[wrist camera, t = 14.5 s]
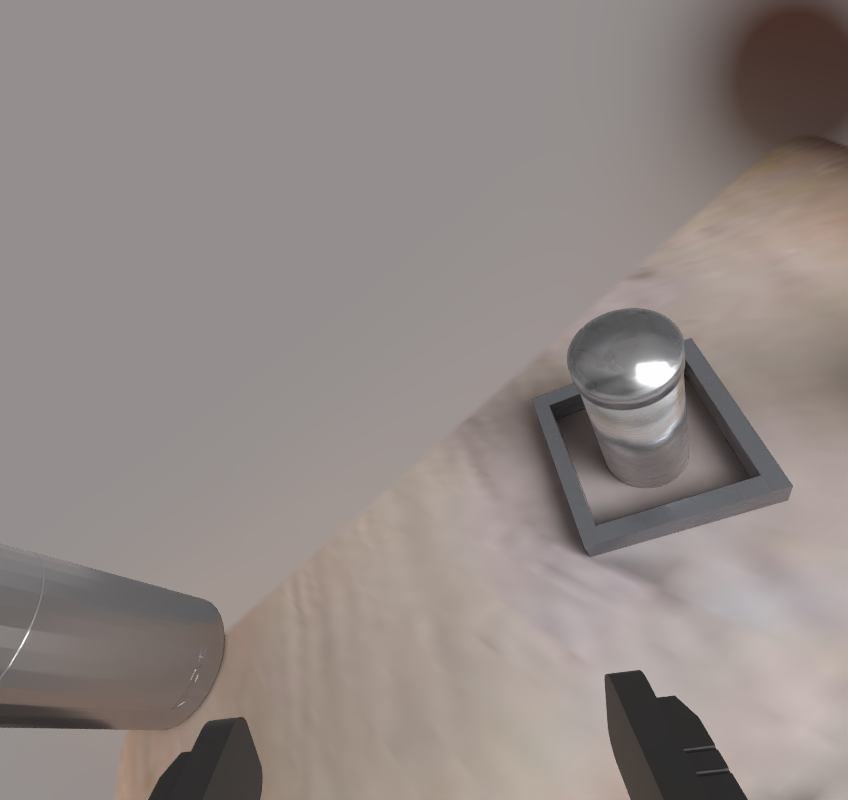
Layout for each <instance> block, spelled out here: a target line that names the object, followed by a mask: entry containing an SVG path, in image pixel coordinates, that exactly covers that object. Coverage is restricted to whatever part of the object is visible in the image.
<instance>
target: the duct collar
mask: <svg viewBox="0 0 848 800" xmlns="http://www.w3.org/2000/svg"><path fill="white" fill-rule="evenodd" d="M684 348H685V369H684V374H685V375H686V377H687V378H688V380H689V382H690V383H691V385H692V386H693V388H694V389H695V391H696V393H697V394H698V396H699V397H700V399H701V400H702V402H703V404H704V405H705V407H706V408H707V410H708V411H709V413H710V415H711V416H712V418H713V419H714V421H715V423H716V424H717V426H718V427H719V429H720V430H721V432H722V434H723V435H724V437H725V438H726V440H727V441H728V443H729V445H730V446H731V448H732V449H733V451H734V452H735V454H736V456H737V457H738V459H739V460H740V462H741V463H742V465H743V467H744V468H745V470H746V471H747V473H748V475H749V476H750V478H751V479H748V480H744V481H741V482H738V483H735V484H731V485H728V486H725V487H721V488H718V489H715V490H712V491H708V492H705V493H702V494H698V495H695V496H692V497H689V498H685V499H682V500H679V501H675V502H672V503H669V504H666V505H662V506H659V507H656V508H652V509H649V510H646V511H643V512H639V513H636V514H633V515H629V516H626V517H623V518H620V519H616V520H613V521H610V522H606V523H603V524H600V525H597V526H596V523H595V520H594V518H593V515H592V512H591V510H590V507H589V505H588V502H587V499H586V497H585V494H584V492H583V489H582V486H581V484H580V481H579V479H578V476H577V473H576V471H575V468H574V465H573V463H572V460H571V458H570V455H569V452H568V450H567V447H566V445H565V442H564V439H563V437H562V434H561V432H560V429H559V426H558V424H557V421H556V419H558V418H561V417H563V416H566V415H569V414H571V413H574V412H577V411H580V410H582V409H585V405H584V402H583V400H582V397H581V394H580V392H579V391H578V390H577V388H576V386H575V384H574V383H573V384H571V385H568V386H565V387H563V388H560V389H558V390H555V391H552V392H550V393H547V394H545V395H542V396H539V397H537V398H534V399H532V402H533V405H534V407H535V410H536V413H537V416H538V419H539V421H540V424H541V427H542V430H543V433H544V435H545V438H546V441H547V444H548V447H549V450H550V452H551V455H552V458H553V461H554V464H555V466H556V469H557V472H558V475H559V478H560V480H561V483H562V486H563V489H564V492H565V495H566V497H567V500H568V503H569V506H570V509H571V511H572V514H573V517H574V520H575V523H576V525H577V528H578V531H579V534H580V537H581V540H582V542H583V545H584V548H585V549H586V551H587V552H588V554H589V556H590V557H592V556H595V555H599V554H602V553H606V552H609V551H613V550H616V549H620V548H623V547H627V546H630V545H634V544H637V543H641V542H644V541H647V540H651V539H654V538H658V537H661V536H665V535H668V534H672V533H675V532H679V531H682V530H686V529H689V528H693V527H696V526H700V525H703V524H706V523H710V522H713V521H717V520H720V519H724V518H727V517H731V516H734V515H738V514H741V513H745V512H748V511H752V510H755V509H759V508H762V507H766V506H769V505H772V504H776V503H779V502H783V501H786V500H788V499H789V496H790V493H791V490H792V487H793V485H792V484H791V482H790V481H789V479H788V478H787V477H786V475H785V474H784V472H783V471H782V469H781V468H780V466H779V465H778V464H777V462H776V461H775V459H774V458H773V456H772V455H771V453H770V452H769V450H768V449H767V448H766V446H765V445H764V443H763V442H762V440H761V439H760V437H759V436H758V434H757V433H756V432H755V430H754V429H753V427H752V426H751V424H750V423H749V421H748V420H747V418H746V417H745V416H744V414H743V413H742V411H741V410H740V408H739V407H738V405H737V404H736V402H735V401H734V400H733V398H732V397H731V395H730V394H729V392H728V391H727V389H726V388H725V386H724V385H723V384H722V382H721V381H720V379H719V378H718V376H717V375H716V373H715V372H714V371H713V369H712V368H711V366H710V365H709V363H708V362H707V360H706V359H705V357H704V356H703V355H702V353H701V352H700V350H699V349H698V347H697V346H696V344H695V343H694V341H693V340H692V339H691V338H689V339H687V340H684Z"/></svg>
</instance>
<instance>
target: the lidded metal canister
mask: <svg viewBox="0 0 848 800" xmlns="http://www.w3.org/2000/svg"><path fill="white" fill-rule="evenodd" d="M567 363H568V368H569V371H570V374H571V376H572V379H573V381H574V384H575V386H576V388H577V390H578V391H579V392H580V394H581V397H582V400H583V402H584V405H585V408H586V411H587V413H588V416H589V419H590V421H591V424H592V427H593V429H594V432H595V435H596V437H597V440H598V443H599V445H600V448H601V451H602V454H603V456H604V459H605V462H606V464H607V466H608V468H609V470H610V471H611V472H612V474H613V475H614V476H615V477H617V478H618V479H619V480H621V481H622V482H624V483H626V484H628V485H631V486H635V487H640V488H653V487H659V486H662V485H665V484H668V483H669V482H671V481H673V480H674V479H676V478H677V477H678V476H679V475H680V474H681V473H682V472H683V470H684V469H685V467H686V465H687V462H688V458H689V444H688V429H687V414H686V400H685V385H684V369H685V348H684V339H683V336H682V334H681V332H680V330H679V328H678V327H677V326H676V325H675V323H673V322H672V321H671V320H670V319H669V318H667V317H666V316H664V315H662V314H660V313H657V312H654V311H651V310H646V309H638V308H630V309H621V310H616V311H612V312H608V313H606V314H603V315H601V316H599V317H597V318H595V319H593V320H592V321H590V322H589V323H587V324H586V325H585V326H584V327H583V328H581V329H580V330H579V332H578V333H577V334H576V335H575V337H574V338H573V340H572V342H571V344H570V346H569V349H568V354H567Z"/></svg>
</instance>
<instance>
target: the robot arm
mask: <svg viewBox="0 0 848 800" xmlns="http://www.w3.org/2000/svg"><path fill="white" fill-rule="evenodd" d="M223 649H224V627H223V622H222V618H221V615H220V614H219V612H218V610H217V608H216V607H215V606H214V605H213V604H212V603H211V602H208V601H206V600H204V599H200V598H197V597H193V596H190V595H186V594H182V593H179V592H175V591H172V590H168V589H165V588H161V587H158V586H154V585H151V584H147V583H143V582H140V581H136V580H132V579H129V578H125V577H121V576H118V575H114V574H110V573H106V572H103V571H99V570H96V569H92V568H88V567H84V566H81V565H77V564H74V563H70V562H66V561H62V560H58V559H55V558H52V557H48V556H44V555H41V554H37V553H33V552H29V551H25V550H21V549H18V548H14V547H10V546H6V545H3V544H0V728H58V729H60V728H61V729H65V728H66V729H114V730H120V729H121V730H166V729H169V728H172V727H174V726H177V725H179V724H180V723H181V722H183V721H184V720H186V719H187V718H188V717H189V716H190V715H191V714H192V713H193V712H194V711H195V710H196V709H197V708H198V707H199V705H200V704H201V703H202V701H203V700H204V698H205V697H206V696H207V694H208V692H209V690H210V688H211V686H212V685H213V683H214V680H215V678H216V675H217V673H218V670H219V667H220V663H221V659H222V655H223ZM605 692H606V706H607V721H608V731H609V737H610V741H611V745H612V749H613V753H614V756H615V759H616V762H617V765H618V767H619V770H620V773H621V775H622V778H623V781H624V783H625V786H626V788H627V791H628V794H629V796H630V799H631V800H748V799H747V798H746V796H745V794H744V793H743V791H742V789H741V788H740V786H739V784H738V783H737V781H736V779H735V778H734V776H733V774H732V773H730V771H729V769H728V766H727V764H726V762H725V761H724V759H723V757H722V756H721V754H720V752H719V751H718V750H717V749H716V748H715V744H714V742H713V741H712V739H711V737H710V736H709V734H708V732H707V731H706V729H705V727H704V726H703V724H702V722H701V721H700V719H699V717H698V716H697V715H696V714H694V713H693V712H692V711H691V710H690V709H689V708H688V707H687V706H686V705H684V704H683V703H682V702H681V701H680V700H679V699H678V698H677V697H676V696H668V697H660V698H657V697H656V696H655V694H654V692H653V690H652V688H651V686H650V684H649V682H648V680H647V678H646V677H645V675H644V674H643V672H642V671H640V670H636V671H628V672H620V673H612V674H606V675H605ZM261 791H262V767H261V764H260V760H259V757H258V754H257V751H256V748H255V745H254V742H253V739H252V736H251V733H250V730H249V727H248V724H247V722H246V720H245V719H244V718H243V717H238V718H230V719H221V720H213V721H209V722H207V723H206V724H205V725H204V727H203V728H202V730H201V732H200V734H199V736H198V738H197V740H196V742H195V744H194V747H193V749H192V751H191V752H183V753H181V754H180V755H179V756H178V757H177V758H176V759H175V761H174V762H173V763H172V764H171V765H170V766H169V768H168V769H167V770H166V771H165V772H164V773H163V775H162V776H161V777H160V778H159V780H158V782H157V784H156V786H155V788H154V790H153V792H152V794H151V796H150V798H149V799H148V800H260V797H261Z"/></svg>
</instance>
